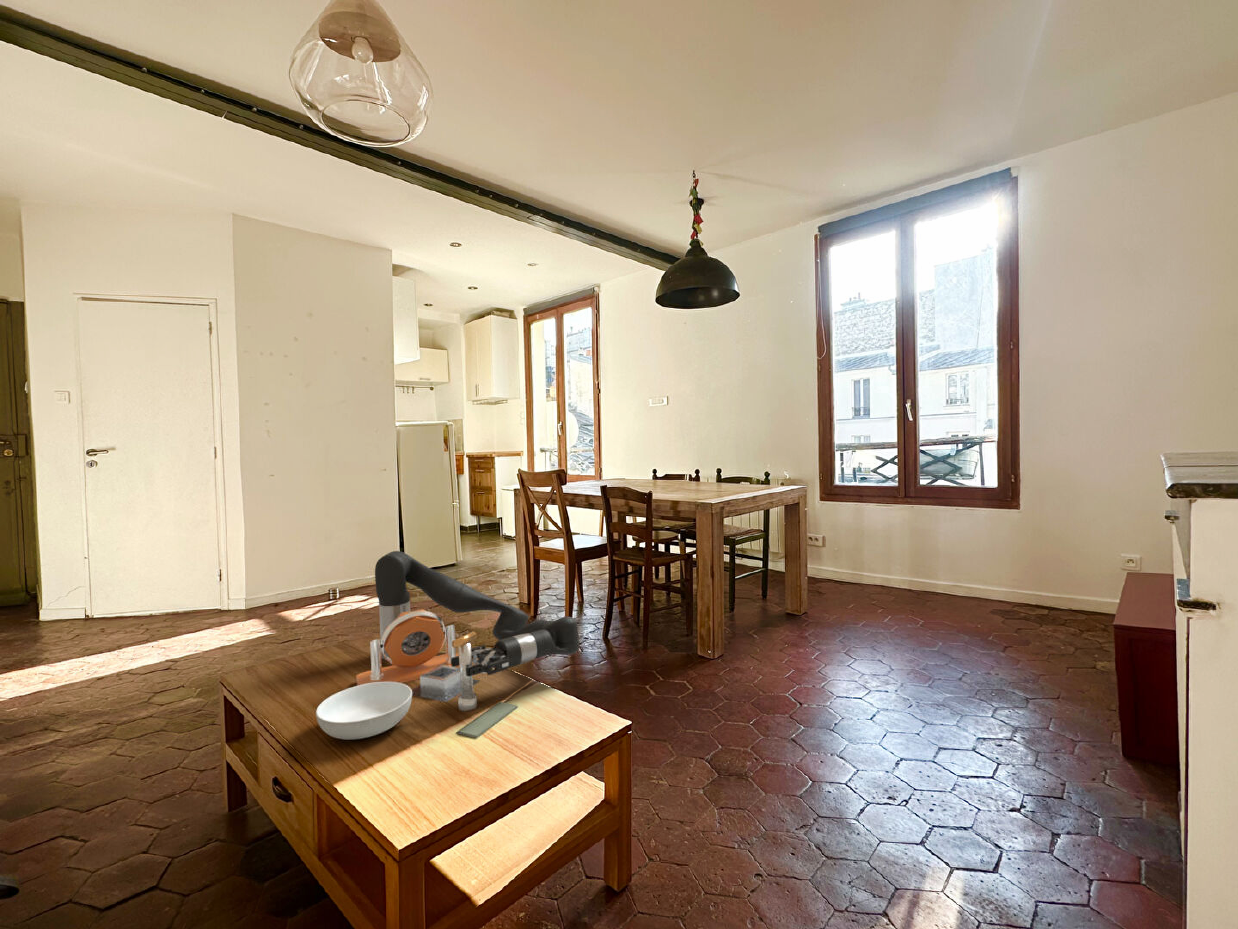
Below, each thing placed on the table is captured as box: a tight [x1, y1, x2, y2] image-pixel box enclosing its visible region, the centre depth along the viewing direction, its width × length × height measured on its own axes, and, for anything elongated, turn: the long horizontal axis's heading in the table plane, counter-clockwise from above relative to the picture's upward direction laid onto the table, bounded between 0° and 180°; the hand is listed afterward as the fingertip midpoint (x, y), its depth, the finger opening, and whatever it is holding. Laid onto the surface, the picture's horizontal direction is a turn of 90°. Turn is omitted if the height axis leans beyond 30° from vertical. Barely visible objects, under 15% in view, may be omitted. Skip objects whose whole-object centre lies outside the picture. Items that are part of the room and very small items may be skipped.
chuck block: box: [411, 665, 481, 703], centre depth 154 cm, size 14×14×5 cm
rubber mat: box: [455, 701, 519, 739], centre depth 139 cm, size 16×16×1 cm
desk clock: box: [355, 608, 460, 686], centre depth 164 cm, size 12×30×20 cm, turn 123°
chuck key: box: [452, 631, 478, 712], centre depth 142 cm, size 7×4×18 cm, turn 155°
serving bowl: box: [315, 682, 413, 741], centre depth 134 cm, size 21×21×7 cm
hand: (458, 667), depth 140 cm, fingers open, 8 cm apart
